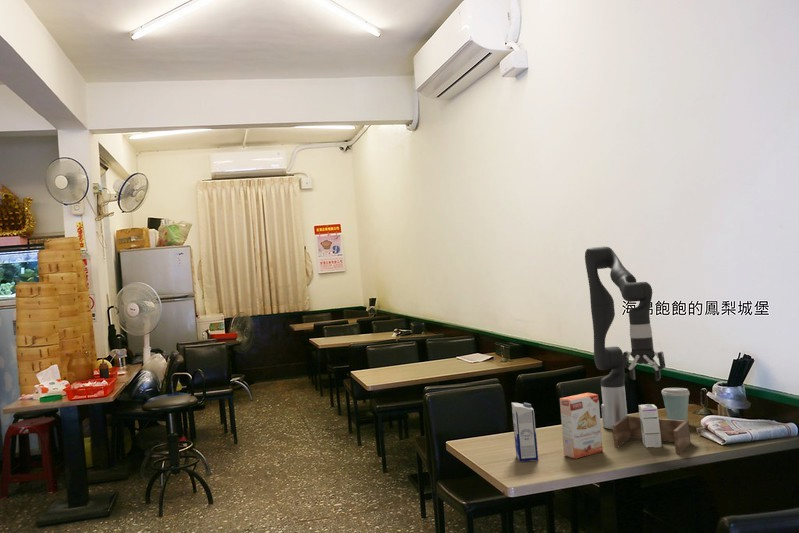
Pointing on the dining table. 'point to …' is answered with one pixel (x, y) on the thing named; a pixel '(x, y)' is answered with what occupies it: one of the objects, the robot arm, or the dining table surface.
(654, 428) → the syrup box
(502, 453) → the dining table surface
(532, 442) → the milk carton
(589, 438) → the cracker box
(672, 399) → the disposable coffee cup
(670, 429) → the wooden u-shaped bracket
